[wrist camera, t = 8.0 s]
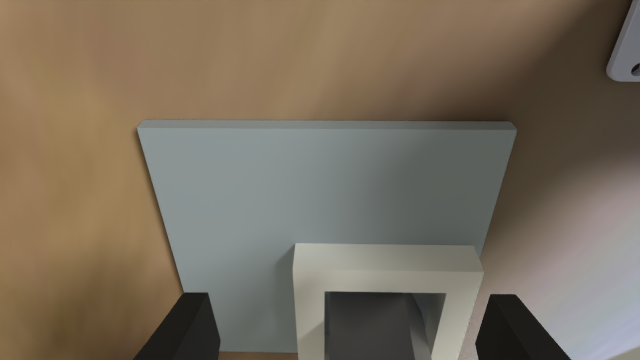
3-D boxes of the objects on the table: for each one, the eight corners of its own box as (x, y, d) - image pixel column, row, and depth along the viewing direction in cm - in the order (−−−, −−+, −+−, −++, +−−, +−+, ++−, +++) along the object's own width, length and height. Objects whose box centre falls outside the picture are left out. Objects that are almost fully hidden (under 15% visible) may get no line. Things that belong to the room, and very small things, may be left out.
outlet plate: (510, 121, 18) (535, 151, 15) (448, 344, 27) (458, 383, 24) (143, 119, 18) (118, 148, 16) (204, 340, 27) (192, 377, 25)
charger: (398, 268, 22) (418, 377, 17) (421, 312, 24) (445, 422, 19) (330, 288, 23) (329, 397, 18) (357, 329, 25) (363, 438, 20)
